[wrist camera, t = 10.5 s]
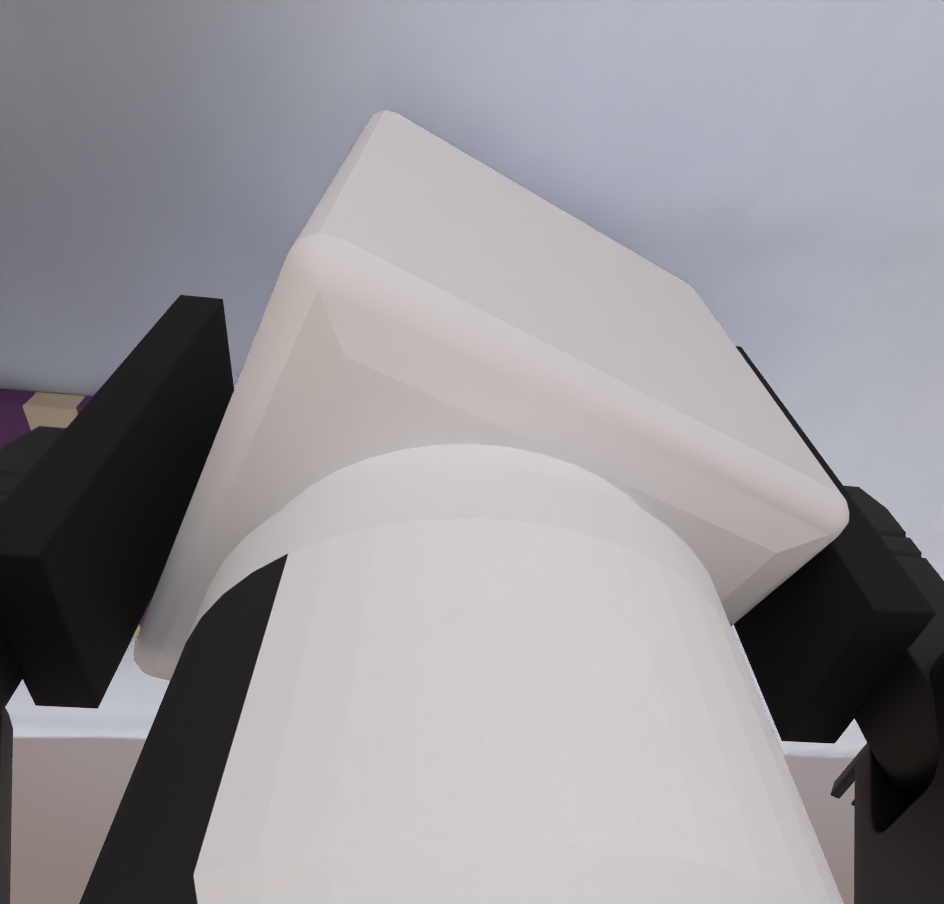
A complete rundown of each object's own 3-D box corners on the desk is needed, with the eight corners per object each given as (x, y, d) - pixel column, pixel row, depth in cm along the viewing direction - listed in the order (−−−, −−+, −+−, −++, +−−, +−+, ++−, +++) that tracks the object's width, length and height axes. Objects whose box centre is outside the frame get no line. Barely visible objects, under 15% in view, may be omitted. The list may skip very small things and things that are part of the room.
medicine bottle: (518, 517, 17) (590, 1227, 7) (249, 405, 15) (-130, 1194, 5) (699, 286, 14) (1298, 1094, 4) (377, 97, 11) (-94, 836, 2)
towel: (55, 616, 27) (44, 633, 26) (-38, 385, 21) (-55, 399, 20) (671, 649, 29) (676, 666, 28) (762, 447, 23) (771, 462, 22)
